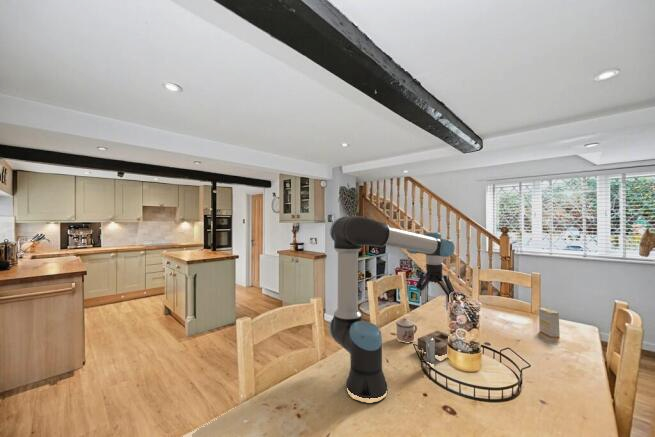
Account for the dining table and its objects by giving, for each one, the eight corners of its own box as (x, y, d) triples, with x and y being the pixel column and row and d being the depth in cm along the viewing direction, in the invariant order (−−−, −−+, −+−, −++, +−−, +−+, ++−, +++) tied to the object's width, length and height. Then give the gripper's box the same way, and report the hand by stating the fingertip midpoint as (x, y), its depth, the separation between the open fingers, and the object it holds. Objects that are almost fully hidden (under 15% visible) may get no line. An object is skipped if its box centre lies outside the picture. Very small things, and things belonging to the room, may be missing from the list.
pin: (431, 370, 110) (431, 341, 111) (424, 366, 113) (424, 338, 113) (436, 367, 112) (436, 339, 112) (429, 363, 115) (429, 336, 115)
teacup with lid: (403, 345, 133) (403, 322, 133) (392, 338, 141) (392, 316, 141) (422, 341, 137) (422, 318, 137) (411, 334, 145) (410, 313, 146)
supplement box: (560, 337, 139) (559, 312, 139) (551, 337, 139) (550, 312, 139) (547, 331, 147) (546, 307, 147) (538, 331, 147) (538, 307, 147)
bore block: (440, 361, 117) (440, 348, 117) (417, 351, 127) (417, 338, 127) (460, 351, 125) (460, 338, 126) (437, 342, 135) (437, 330, 136)
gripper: (462, 265, 123) (464, 311, 123) (417, 259, 144) (418, 298, 143) (454, 267, 119) (455, 314, 119) (408, 261, 139) (409, 301, 139)
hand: (435, 306), depth 131 cm, fingers open, 13 cm apart
